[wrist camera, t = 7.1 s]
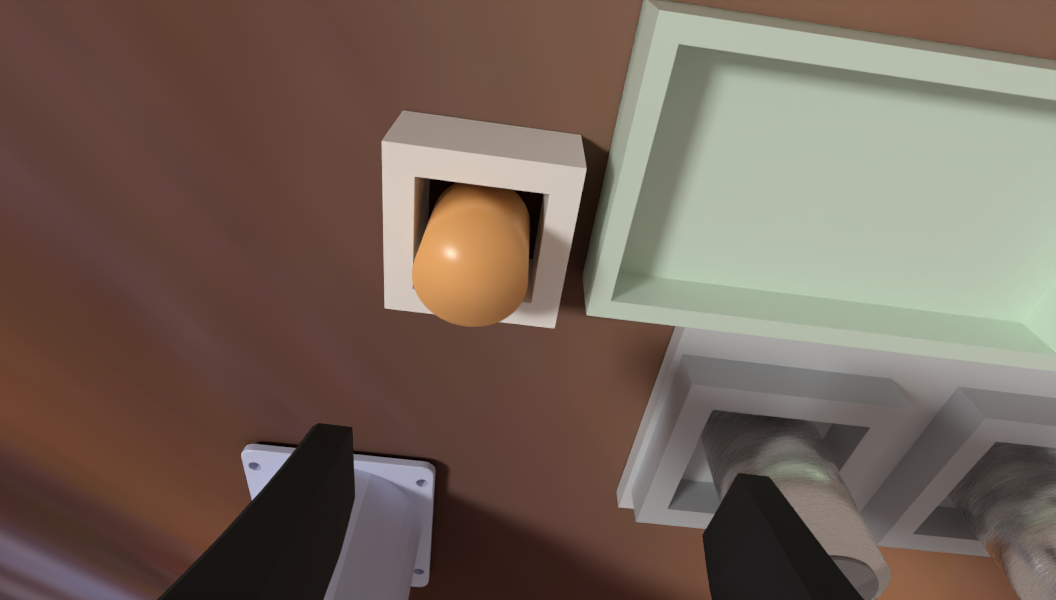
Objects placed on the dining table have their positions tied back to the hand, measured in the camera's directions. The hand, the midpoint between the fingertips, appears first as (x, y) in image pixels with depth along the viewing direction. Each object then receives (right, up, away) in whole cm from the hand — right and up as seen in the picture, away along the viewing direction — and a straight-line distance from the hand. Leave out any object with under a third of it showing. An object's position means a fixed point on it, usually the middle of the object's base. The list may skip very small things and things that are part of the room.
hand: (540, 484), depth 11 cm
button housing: (-2, +6, +6) cm, 9 cm away
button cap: (-2, +6, +5) cm, 8 cm away
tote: (+10, +7, +6) cm, 13 cm away
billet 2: (+18, -3, +11) cm, 22 cm away
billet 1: (+8, -1, +11) cm, 14 cm away
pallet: (+13, -2, +12) cm, 18 cm away
